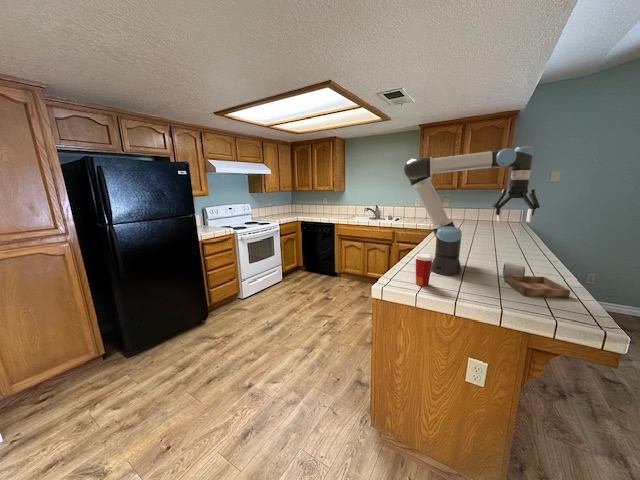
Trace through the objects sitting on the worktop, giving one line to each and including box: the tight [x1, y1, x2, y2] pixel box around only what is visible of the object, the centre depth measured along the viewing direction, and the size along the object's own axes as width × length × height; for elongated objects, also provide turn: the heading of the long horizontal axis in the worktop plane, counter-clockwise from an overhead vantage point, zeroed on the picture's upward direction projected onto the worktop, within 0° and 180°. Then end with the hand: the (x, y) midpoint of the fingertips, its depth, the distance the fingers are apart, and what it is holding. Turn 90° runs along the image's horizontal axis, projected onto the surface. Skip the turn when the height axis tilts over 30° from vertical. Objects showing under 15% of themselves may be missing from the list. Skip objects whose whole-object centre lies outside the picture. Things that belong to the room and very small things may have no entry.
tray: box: [504, 275, 571, 299], centre depth 112 cm, size 16×16×4 cm
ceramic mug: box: [501, 262, 526, 279], centre depth 127 cm, size 11×8×8 cm
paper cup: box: [414, 253, 434, 287], centre depth 119 cm, size 8×8×14 cm
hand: (513, 221), depth 132 cm, fingers open, 13 cm apart
